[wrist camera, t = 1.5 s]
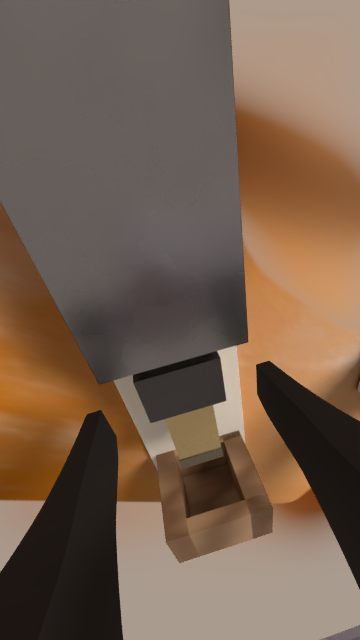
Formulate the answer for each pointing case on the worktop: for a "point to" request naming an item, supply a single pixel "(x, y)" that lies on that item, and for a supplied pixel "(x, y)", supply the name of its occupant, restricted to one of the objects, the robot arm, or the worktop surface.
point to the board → (157, 432)
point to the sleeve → (126, 173)
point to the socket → (212, 501)
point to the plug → (186, 404)
